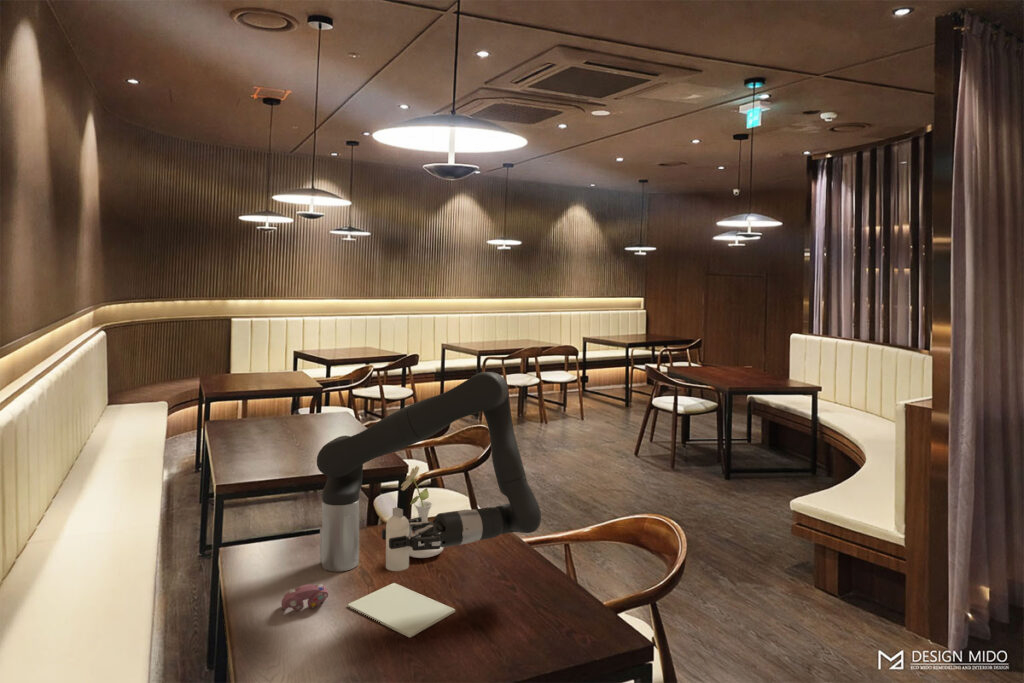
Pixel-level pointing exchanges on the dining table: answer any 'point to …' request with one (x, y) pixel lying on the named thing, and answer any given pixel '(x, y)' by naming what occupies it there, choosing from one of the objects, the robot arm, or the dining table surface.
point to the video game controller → (304, 596)
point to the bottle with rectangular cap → (397, 528)
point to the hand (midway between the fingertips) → (386, 539)
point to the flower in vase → (420, 513)
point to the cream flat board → (401, 609)
